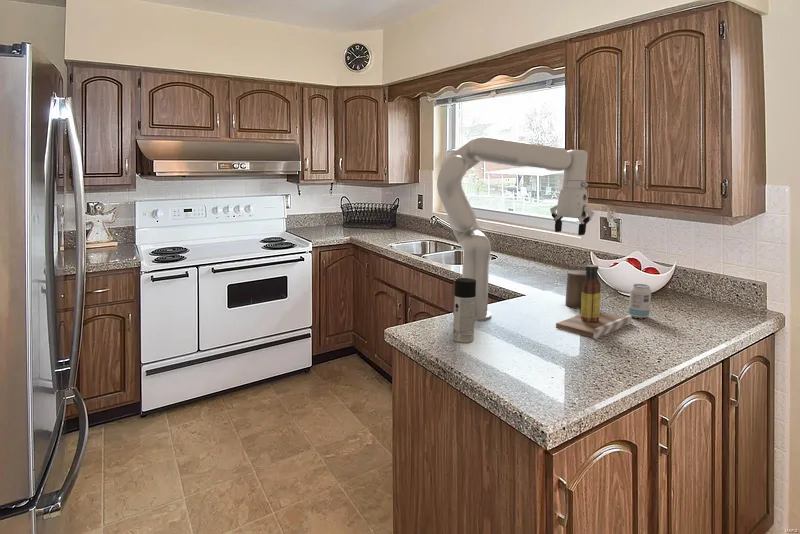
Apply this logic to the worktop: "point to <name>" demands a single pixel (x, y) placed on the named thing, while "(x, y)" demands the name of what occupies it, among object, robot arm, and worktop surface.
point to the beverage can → (639, 301)
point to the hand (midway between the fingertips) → (569, 233)
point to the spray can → (464, 310)
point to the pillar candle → (574, 288)
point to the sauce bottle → (590, 295)
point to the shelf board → (594, 325)
